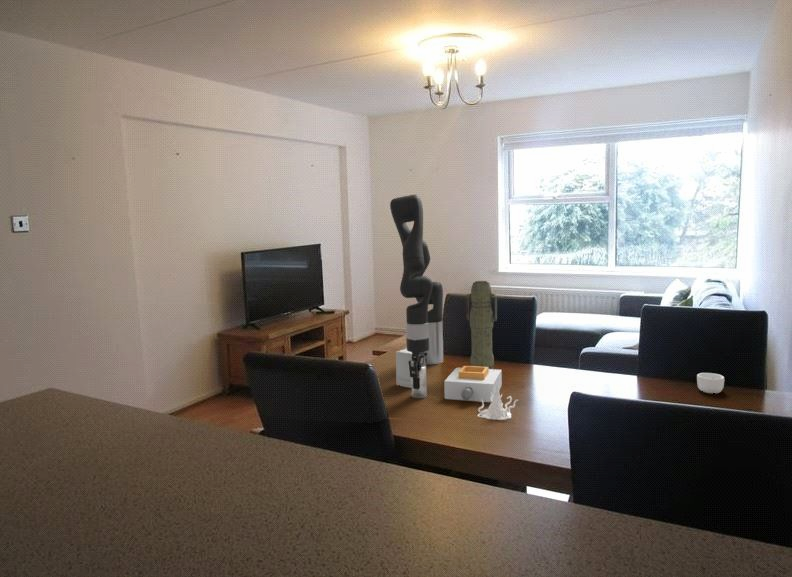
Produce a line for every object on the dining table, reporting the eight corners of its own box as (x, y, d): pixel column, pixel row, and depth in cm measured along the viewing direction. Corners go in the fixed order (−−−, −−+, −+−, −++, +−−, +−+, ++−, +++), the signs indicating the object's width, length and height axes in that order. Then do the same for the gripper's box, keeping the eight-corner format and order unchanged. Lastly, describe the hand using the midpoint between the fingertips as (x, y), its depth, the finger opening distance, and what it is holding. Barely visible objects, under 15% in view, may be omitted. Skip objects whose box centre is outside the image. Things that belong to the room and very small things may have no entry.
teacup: (726, 396, 175) (726, 380, 174) (698, 394, 177) (699, 378, 177) (719, 387, 184) (720, 372, 183) (693, 386, 187) (694, 370, 186)
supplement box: (412, 389, 193) (411, 353, 192) (395, 385, 198) (394, 351, 196) (424, 384, 199) (423, 349, 197) (408, 381, 203) (407, 347, 202)
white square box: (456, 383, 198) (456, 361, 197) (501, 386, 193) (501, 364, 192) (441, 402, 177) (441, 378, 176) (491, 406, 172) (491, 381, 171)
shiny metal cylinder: (414, 393, 188) (413, 364, 187) (428, 394, 186) (427, 365, 185) (409, 397, 183) (409, 368, 182) (424, 398, 182) (423, 369, 181)
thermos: (467, 368, 219) (466, 280, 215) (498, 369, 216) (497, 280, 212) (465, 374, 210) (463, 282, 206) (497, 375, 207) (496, 282, 203)
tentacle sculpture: (478, 410, 170) (477, 380, 169) (518, 411, 167) (517, 381, 166) (476, 420, 161) (476, 389, 160) (518, 421, 159) (518, 390, 158)
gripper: (413, 331, 191) (414, 379, 192) (399, 340, 177) (401, 391, 179) (434, 332, 188) (435, 381, 190) (422, 341, 175) (423, 393, 177)
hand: (418, 386), depth 184 cm, fingers closed on shiny metal cylinder, 5 cm apart
